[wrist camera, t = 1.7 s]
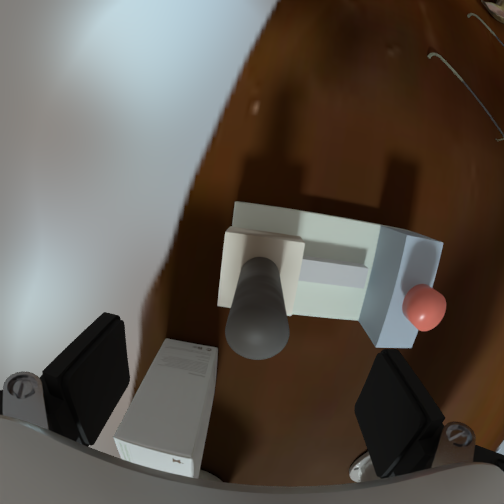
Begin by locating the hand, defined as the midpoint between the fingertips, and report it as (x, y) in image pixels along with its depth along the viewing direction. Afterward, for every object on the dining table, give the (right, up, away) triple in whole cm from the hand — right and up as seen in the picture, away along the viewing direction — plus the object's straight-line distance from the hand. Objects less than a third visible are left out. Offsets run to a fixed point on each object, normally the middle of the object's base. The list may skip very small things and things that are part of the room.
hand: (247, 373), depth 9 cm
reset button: (+14, 0, +10) cm, 17 cm away
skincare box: (-7, -10, +22) cm, 25 cm away
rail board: (+7, +3, +19) cm, 20 cm away
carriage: (+1, +3, +17) cm, 17 cm away
